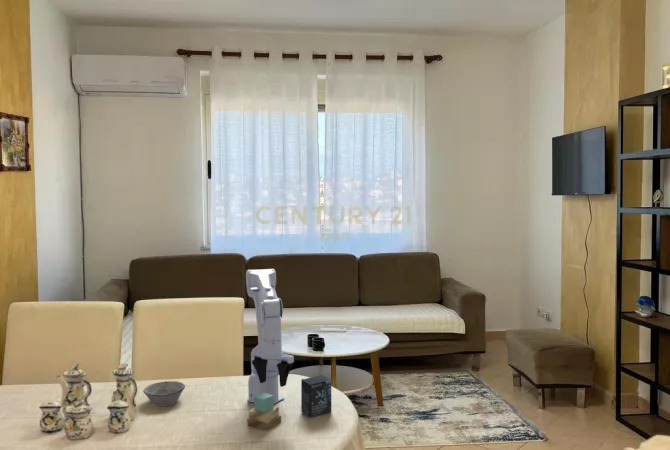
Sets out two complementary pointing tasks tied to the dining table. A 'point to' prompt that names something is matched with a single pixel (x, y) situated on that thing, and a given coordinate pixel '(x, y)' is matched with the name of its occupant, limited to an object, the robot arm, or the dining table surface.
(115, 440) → the dining table surface
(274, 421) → the slab bottom
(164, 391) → the bowl
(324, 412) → the box
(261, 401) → the teal cube
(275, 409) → the slab top
